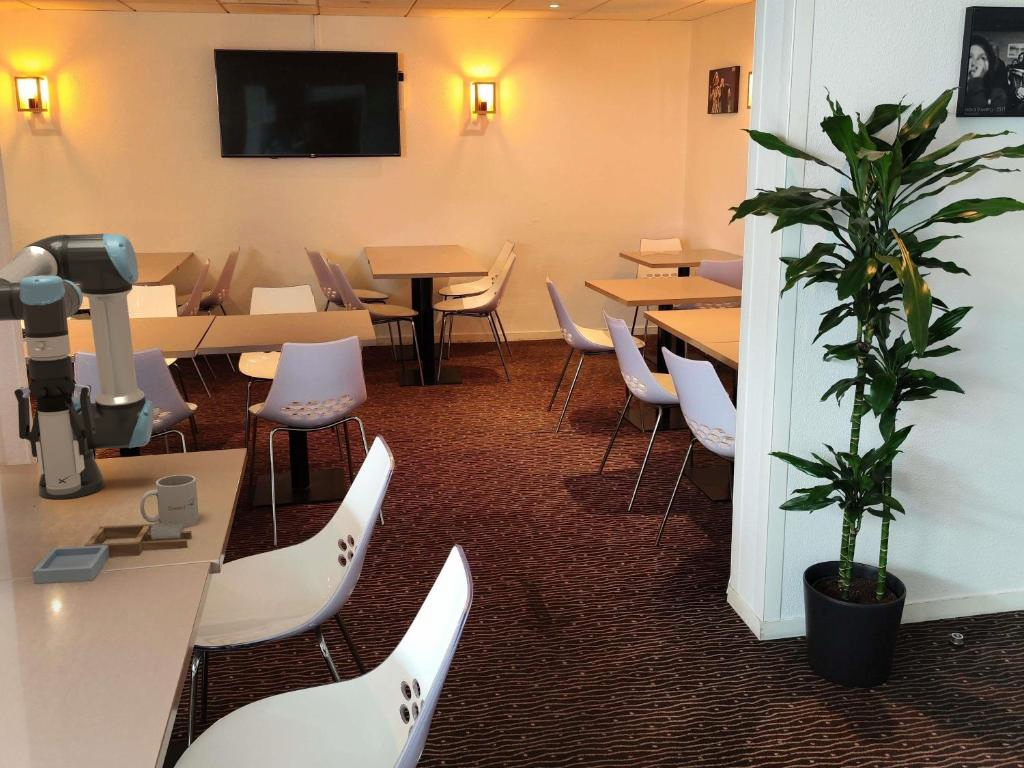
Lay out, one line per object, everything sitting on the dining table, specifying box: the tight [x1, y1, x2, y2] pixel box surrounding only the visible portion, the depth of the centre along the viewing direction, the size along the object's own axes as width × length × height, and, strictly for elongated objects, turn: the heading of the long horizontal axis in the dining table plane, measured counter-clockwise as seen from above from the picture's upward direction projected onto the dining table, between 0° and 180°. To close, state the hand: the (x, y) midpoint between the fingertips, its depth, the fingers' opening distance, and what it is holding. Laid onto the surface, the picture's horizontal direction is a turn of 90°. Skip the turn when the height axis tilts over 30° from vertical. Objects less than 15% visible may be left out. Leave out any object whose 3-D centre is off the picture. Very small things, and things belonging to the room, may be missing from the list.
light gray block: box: [151, 523, 184, 541], centre depth 206 cm, size 3×6×4 cm, turn 98°
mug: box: [139, 474, 200, 528], centre depth 218 cm, size 12×9×10 cm
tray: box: [32, 545, 110, 585], centre depth 193 cm, size 12×11×3 cm
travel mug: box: [36, 393, 81, 495], centre depth 187 cm, size 6×7×20 cm
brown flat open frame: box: [84, 523, 193, 558], centre depth 206 cm, size 12×20×2 cm, turn 98°
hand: (62, 471), depth 189 cm, fingers closed on travel mug, 6 cm apart
